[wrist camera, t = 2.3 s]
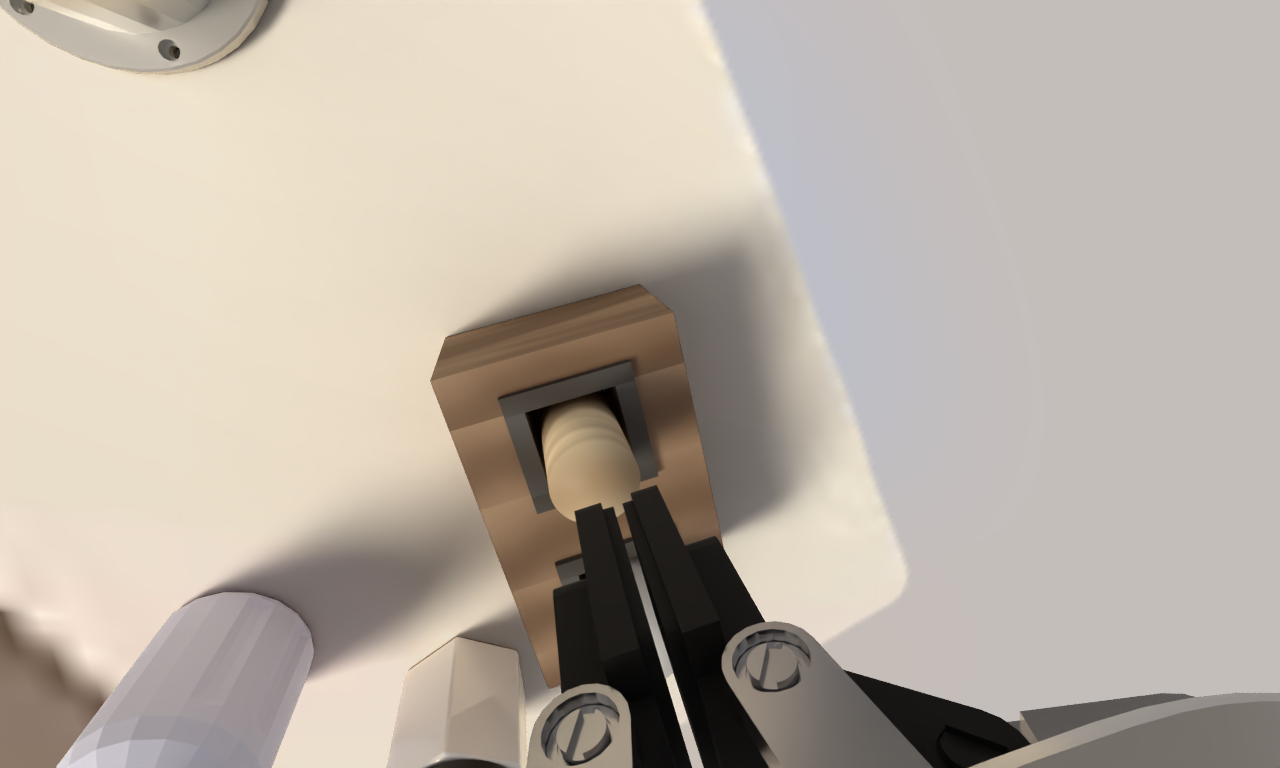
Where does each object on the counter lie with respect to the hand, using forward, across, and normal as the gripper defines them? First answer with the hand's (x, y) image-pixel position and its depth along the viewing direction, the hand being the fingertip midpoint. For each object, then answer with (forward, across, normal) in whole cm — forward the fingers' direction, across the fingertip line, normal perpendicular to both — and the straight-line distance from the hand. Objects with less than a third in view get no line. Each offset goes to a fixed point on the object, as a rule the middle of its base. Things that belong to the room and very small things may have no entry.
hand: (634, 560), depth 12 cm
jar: (+27, +14, +25) cm, 39 cm away
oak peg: (+22, +1, +5) cm, 22 cm away
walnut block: (+27, +1, +10) cm, 28 cm away
